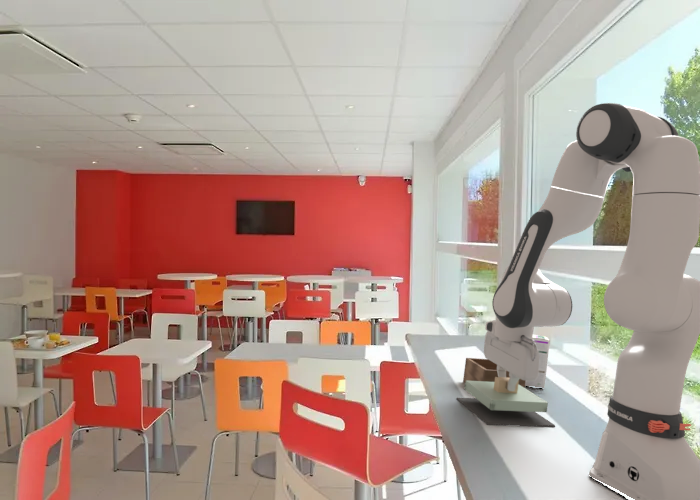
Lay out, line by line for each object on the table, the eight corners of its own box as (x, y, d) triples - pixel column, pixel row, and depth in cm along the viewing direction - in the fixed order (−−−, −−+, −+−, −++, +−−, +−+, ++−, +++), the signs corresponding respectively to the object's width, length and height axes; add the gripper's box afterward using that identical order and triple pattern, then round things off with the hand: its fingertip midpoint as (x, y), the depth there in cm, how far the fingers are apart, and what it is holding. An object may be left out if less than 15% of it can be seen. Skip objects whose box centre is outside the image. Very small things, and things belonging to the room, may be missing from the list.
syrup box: (544, 390, 159) (551, 340, 158) (523, 386, 160) (529, 336, 159) (541, 384, 165) (548, 336, 164) (521, 381, 166) (527, 333, 165)
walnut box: (523, 398, 149) (526, 372, 148) (482, 396, 146) (485, 370, 145) (501, 383, 160) (504, 360, 160) (462, 382, 157) (466, 357, 157)
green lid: (546, 412, 129) (549, 390, 129) (490, 410, 126) (493, 387, 126) (515, 391, 143) (518, 371, 143) (464, 389, 140) (467, 368, 140)
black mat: (554, 426, 128) (555, 425, 128) (487, 424, 124) (487, 423, 124) (517, 401, 145) (517, 400, 145) (456, 399, 141) (456, 397, 141)
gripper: (549, 342, 124) (541, 403, 125) (505, 323, 144) (497, 375, 145) (524, 340, 123) (516, 402, 124) (482, 321, 143) (475, 374, 143)
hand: (505, 387), depth 134 cm, fingers closed on green lid, 2 cm apart
